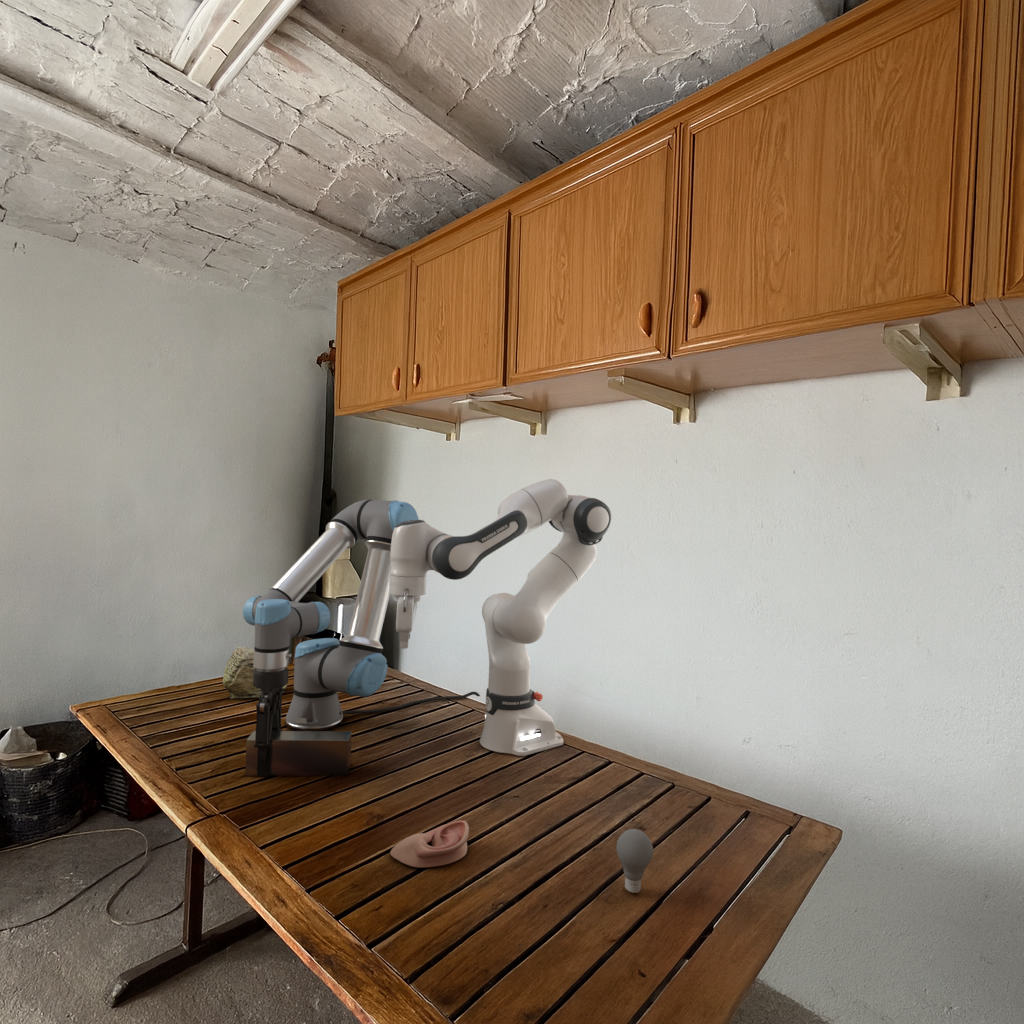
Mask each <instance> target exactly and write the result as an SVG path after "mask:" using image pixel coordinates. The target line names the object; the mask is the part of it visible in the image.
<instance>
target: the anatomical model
mask: <svg viewBox="0 0 1024 1024" xmlns="http://www.w3.org/2000/svg"><path fill="white" fill-rule="evenodd" d="M469 834H470V828H469V824H468V822H467V821H466V820H463V819H462V820H455V821H451V822H447V823H446V824H443V825H440V826H438V827H436V828H434V829H433V828H432V829H431V830H429V831H426V832H423V833H415V834H412V835H409V836H407V837H405V838H404V839H402V840H401V841H399V842H398V843H397V844H395V845H394V846H393V847H392V848H391V850H390V852H389V854H390V856H392V858H393V859H395V860H396V861H399V862H400V863H402V864H404V865H407V866H409V867H412V868H417V869H418V868H422V869H423V868H433V867H439V866H445V865H449V864H452V863H454V862H457V861H459V860H461V859H463V857H465V856H466V855H467V852H468V842H467V841H468V839H469V836H470V835H469Z"/></svg>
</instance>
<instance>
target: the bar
mask: <svg viewBox="0 0 1024 1024" xmlns="http://www.w3.org/2000/svg"><path fill="white" fill-rule="evenodd" d="M352 735H353V734H352V730H351V731H349V730H347V731H345V730H337V731H336V730H325V731H295V730H282V731H271V739H270V745H271V769H270V775H257V760H258V747H254V744H255V738H256V730H253V731H252V733H250V735H249V736H248V737H247V739H246V742H245V744H246V745H245V768H244V769H245V771H244V773H245V774H244V776H246V777H273V776H274V777H278V776H279V777H288V776H290V777H291V776H293V777H294V776H295V777H297V776H298V777H301V776H302V777H303V776H306V777H307V776H313V777H314V776H318V777H319V776H348V773H349V771H350V767H351V760H352V757H351V756H352Z"/></svg>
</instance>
